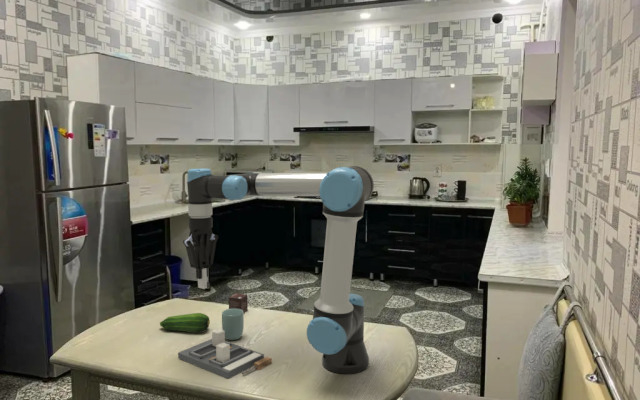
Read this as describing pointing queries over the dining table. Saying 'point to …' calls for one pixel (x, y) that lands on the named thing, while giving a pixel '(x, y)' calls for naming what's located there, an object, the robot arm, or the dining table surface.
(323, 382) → the dining table surface
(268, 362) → the screwdriver
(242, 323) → the cup
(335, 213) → the robot arm
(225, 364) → the switch board
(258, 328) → the dining table surface
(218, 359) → the tab
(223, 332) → the tab
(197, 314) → the vegetable
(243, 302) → the box
